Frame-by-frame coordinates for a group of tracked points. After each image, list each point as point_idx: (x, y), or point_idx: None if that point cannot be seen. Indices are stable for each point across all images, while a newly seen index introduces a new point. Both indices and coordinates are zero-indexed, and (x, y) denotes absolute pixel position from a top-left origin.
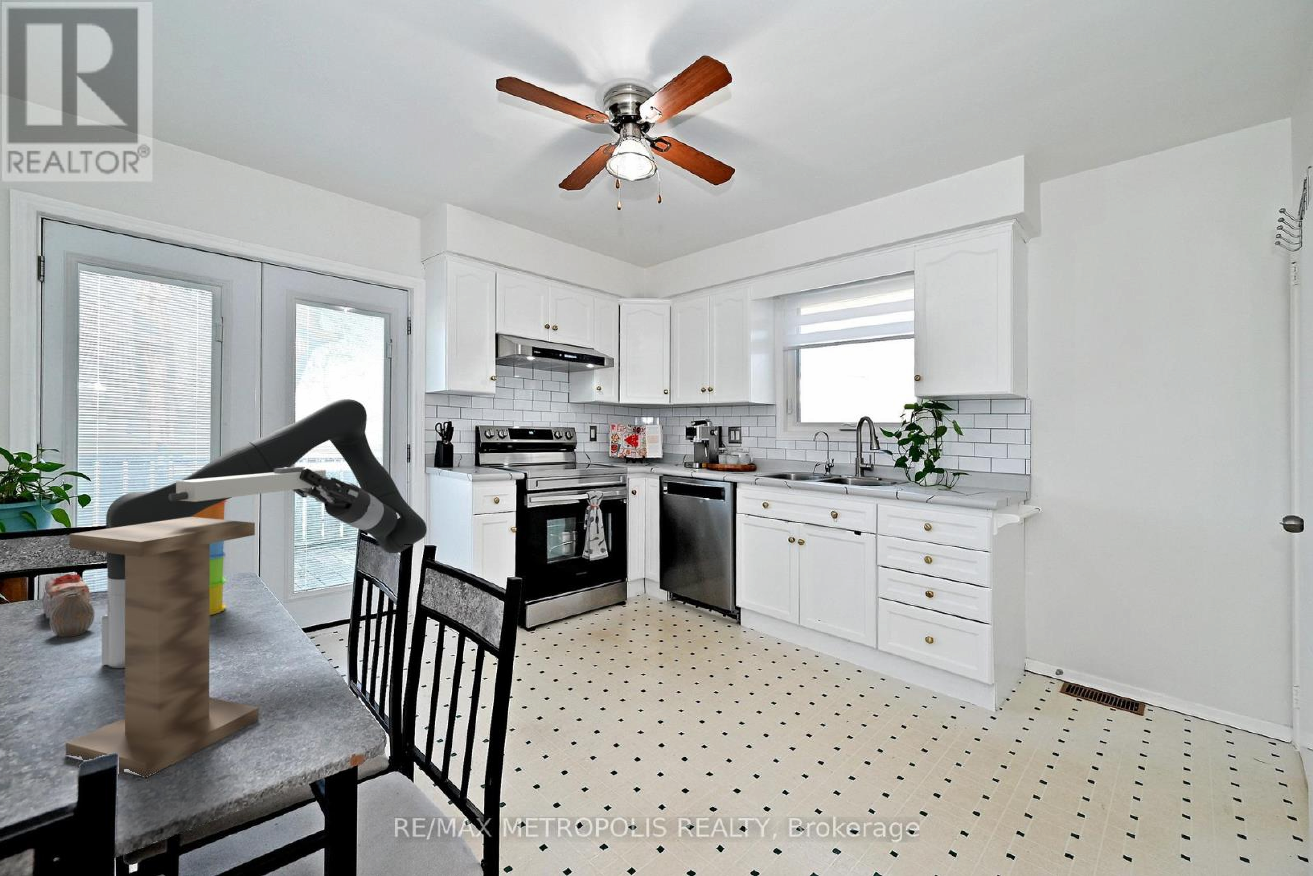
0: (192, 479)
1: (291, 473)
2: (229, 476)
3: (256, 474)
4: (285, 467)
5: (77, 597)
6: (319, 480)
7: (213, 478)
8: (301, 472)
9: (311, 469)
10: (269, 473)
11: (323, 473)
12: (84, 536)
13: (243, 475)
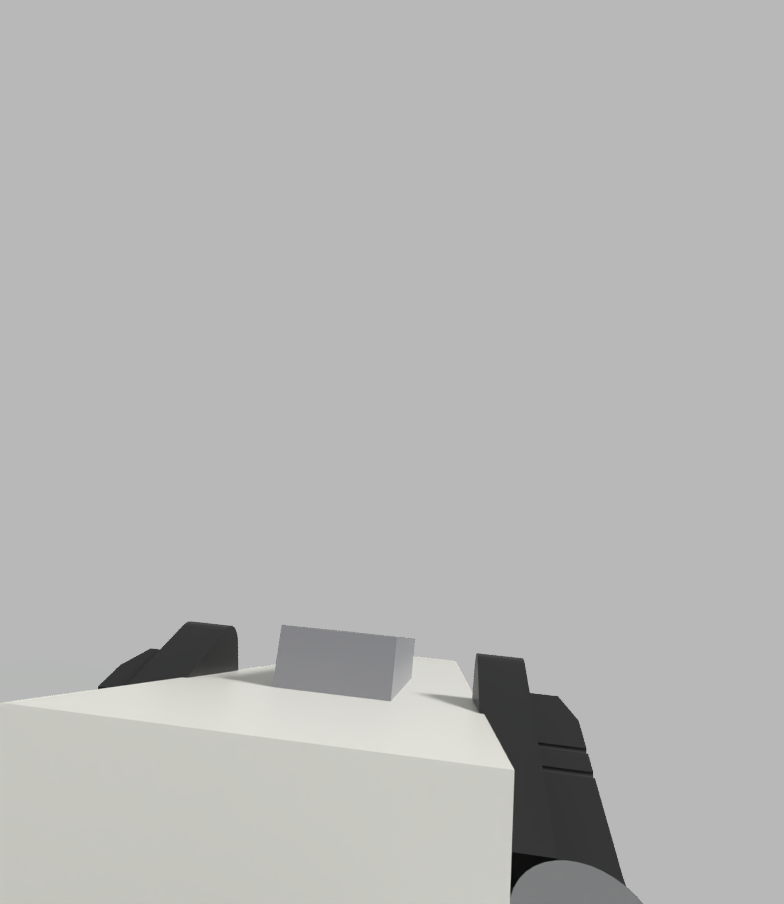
0: (455, 662)
1: (268, 666)
2: (447, 667)
3: (426, 671)
4: (512, 658)
5: None
6: None
7: (426, 661)
8: (233, 670)
9: (405, 748)
10: (412, 675)
11: (23, 774)
12: None
13: (436, 669)
